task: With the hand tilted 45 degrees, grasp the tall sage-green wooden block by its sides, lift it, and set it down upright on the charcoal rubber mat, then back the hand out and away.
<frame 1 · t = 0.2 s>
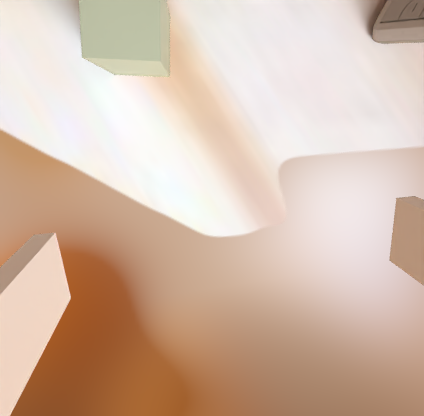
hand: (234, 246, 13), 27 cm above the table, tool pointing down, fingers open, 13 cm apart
sage block: (141, 46, 35), on the table
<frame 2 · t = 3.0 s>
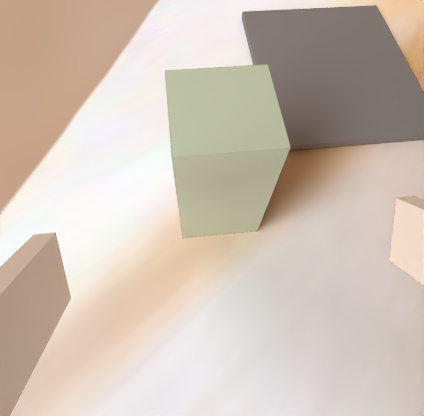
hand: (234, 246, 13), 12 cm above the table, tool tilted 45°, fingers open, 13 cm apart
mat: (330, 72, 35), on the table
sage block: (215, 201, 28), on the table
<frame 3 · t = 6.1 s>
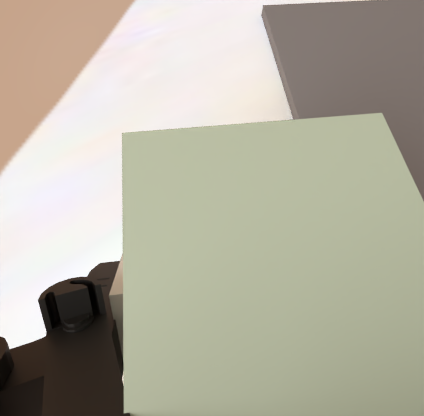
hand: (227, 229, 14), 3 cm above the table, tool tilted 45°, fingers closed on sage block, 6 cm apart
mat: (398, 93, 23), on the table
sage block: (233, 326, 16), on the table, touching gripper
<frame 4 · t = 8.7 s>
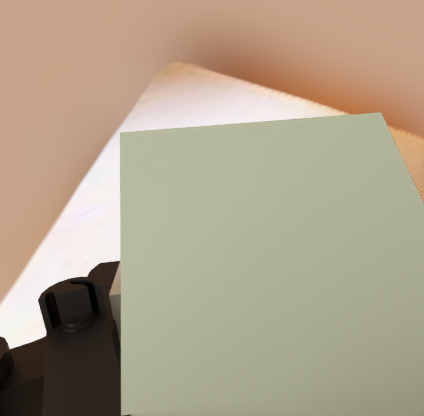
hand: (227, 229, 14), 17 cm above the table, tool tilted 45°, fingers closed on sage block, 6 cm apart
sage block: (232, 326, 16), point 14 cm above the table, touching gripper
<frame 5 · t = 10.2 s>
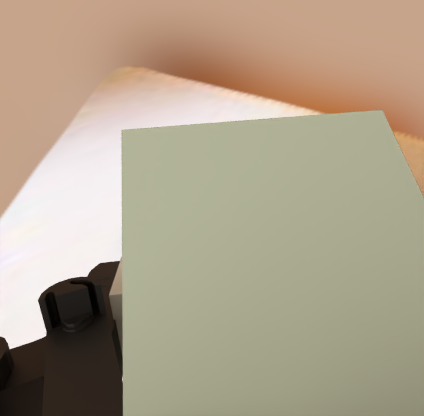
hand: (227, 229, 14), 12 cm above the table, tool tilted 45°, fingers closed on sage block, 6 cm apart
sage block: (233, 325, 16), point 9 cm above the table, touching gripper
when the fingers open (6 cm above the table, at t = 11.6 s): sage block drops 2 cm, resting on mat.
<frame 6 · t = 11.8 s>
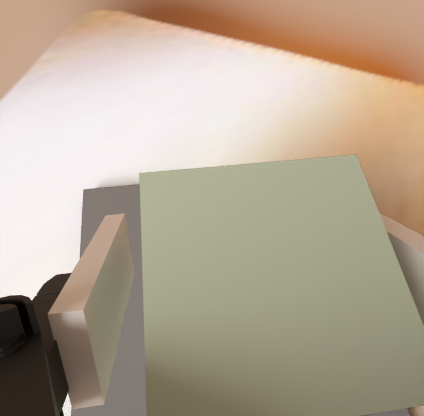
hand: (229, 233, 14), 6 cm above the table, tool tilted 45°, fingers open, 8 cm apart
mat: (229, 332, 18), on the table
sage block: (232, 330, 17), point 1 cm above the table, touching mat
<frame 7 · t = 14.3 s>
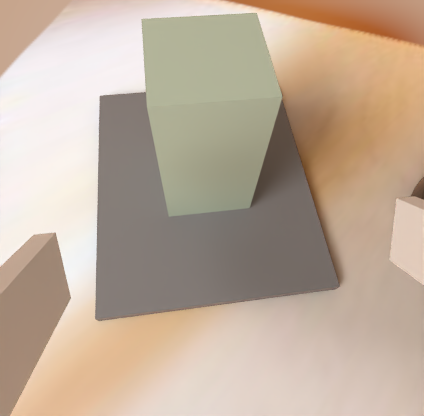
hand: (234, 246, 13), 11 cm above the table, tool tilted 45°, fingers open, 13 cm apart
mat: (203, 183, 26), on the table
sage block: (204, 177, 26), point 1 cm above the table, touching mat
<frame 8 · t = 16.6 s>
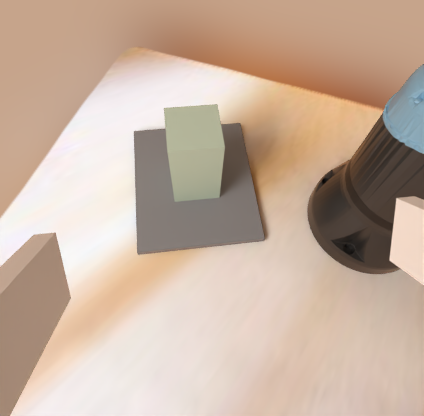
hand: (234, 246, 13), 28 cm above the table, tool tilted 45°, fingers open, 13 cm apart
mat: (194, 183, 46), on the table
sage block: (194, 180, 46), point 1 cm above the table, touching mat
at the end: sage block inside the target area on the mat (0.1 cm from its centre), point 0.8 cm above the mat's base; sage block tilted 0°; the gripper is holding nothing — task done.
